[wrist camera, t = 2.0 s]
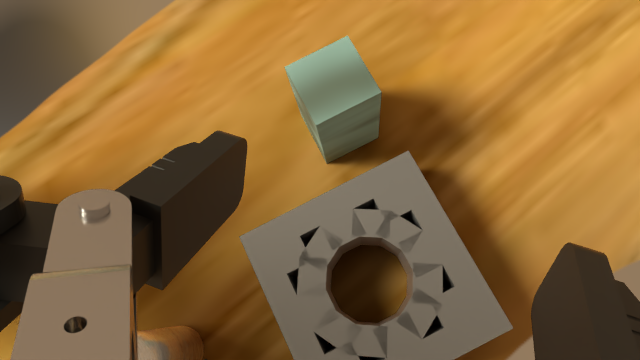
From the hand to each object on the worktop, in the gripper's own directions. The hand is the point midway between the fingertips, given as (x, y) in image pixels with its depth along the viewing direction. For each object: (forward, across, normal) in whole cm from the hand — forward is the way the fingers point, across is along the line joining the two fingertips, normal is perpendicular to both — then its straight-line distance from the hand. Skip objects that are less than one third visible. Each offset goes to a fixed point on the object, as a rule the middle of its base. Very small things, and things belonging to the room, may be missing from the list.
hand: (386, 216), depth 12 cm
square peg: (+27, +7, +11) cm, 30 cm away
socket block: (+18, 0, +19) cm, 27 cm away
